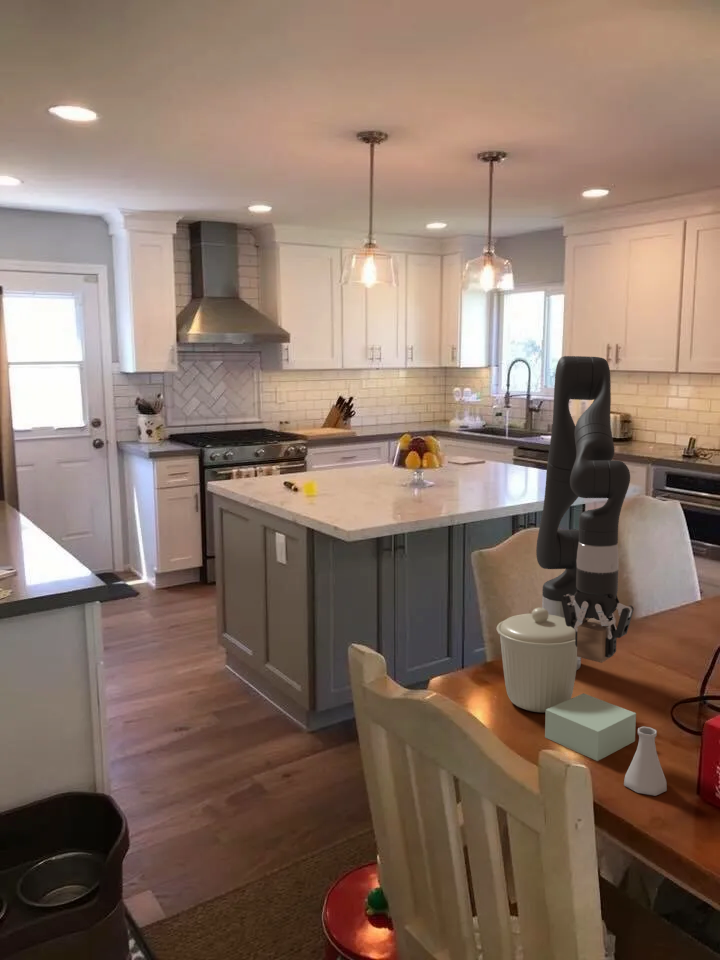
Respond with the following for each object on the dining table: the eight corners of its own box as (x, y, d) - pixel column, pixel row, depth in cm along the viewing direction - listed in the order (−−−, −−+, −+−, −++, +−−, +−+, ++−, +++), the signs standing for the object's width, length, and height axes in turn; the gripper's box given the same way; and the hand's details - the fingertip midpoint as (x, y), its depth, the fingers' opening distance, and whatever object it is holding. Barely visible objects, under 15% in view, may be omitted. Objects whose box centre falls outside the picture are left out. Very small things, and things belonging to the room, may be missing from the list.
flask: (632, 770, 140) (634, 717, 138) (673, 783, 135) (676, 728, 134) (616, 787, 134) (618, 732, 133) (659, 801, 130) (661, 744, 128)
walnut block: (576, 656, 149) (577, 626, 148) (589, 649, 152) (589, 619, 151) (601, 662, 145) (602, 631, 144) (613, 655, 149) (614, 625, 148)
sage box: (544, 738, 152) (545, 709, 152) (582, 721, 160) (583, 693, 159) (597, 762, 143) (598, 731, 142) (634, 742, 150) (636, 713, 149)
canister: (598, 702, 167) (601, 607, 164) (550, 730, 155) (552, 628, 152) (528, 679, 181) (529, 591, 178) (478, 702, 168) (479, 608, 165)
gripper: (643, 568, 144) (640, 656, 147) (572, 556, 154) (570, 639, 156) (625, 576, 139) (622, 667, 141) (553, 563, 148) (551, 649, 151)
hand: (595, 652), depth 149 cm, fingers closed on walnut block, 5 cm apart
